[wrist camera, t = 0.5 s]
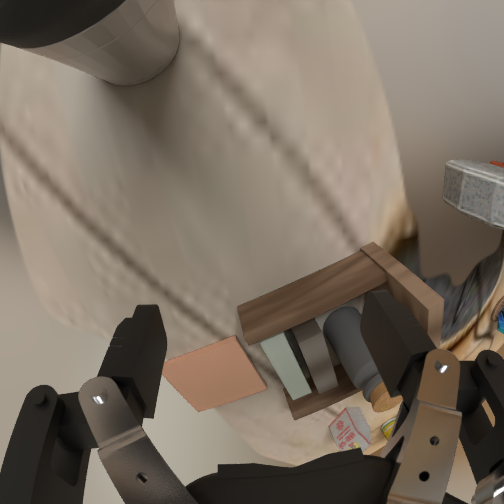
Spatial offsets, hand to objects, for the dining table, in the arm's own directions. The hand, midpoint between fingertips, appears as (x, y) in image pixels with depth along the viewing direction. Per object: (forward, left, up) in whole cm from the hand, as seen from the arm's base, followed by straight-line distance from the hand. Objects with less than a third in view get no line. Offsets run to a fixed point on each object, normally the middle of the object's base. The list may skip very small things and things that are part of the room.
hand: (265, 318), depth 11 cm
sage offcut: (+24, -1, -21) cm, 32 cm away
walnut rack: (+24, +6, -21) cm, 32 cm away
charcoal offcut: (+24, +3, -21) cm, 32 cm away
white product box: (+52, +4, -21) cm, 56 cm away
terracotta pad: (+24, -12, -21) cm, 34 cm away
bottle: (+24, +8, -21) cm, 33 cm away
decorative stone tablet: (+12, +38, -21) cm, 45 cm away
